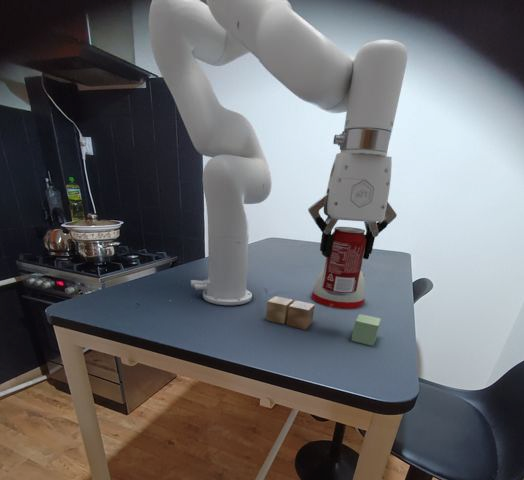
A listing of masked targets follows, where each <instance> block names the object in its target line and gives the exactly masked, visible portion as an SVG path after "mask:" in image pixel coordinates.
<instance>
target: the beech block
mask: <svg viewBox="0 0 524 480" xmlns="http://www.w3.org/2000/svg"><path fill="white" fill-rule="evenodd" d="M315 306H316V304H315V303H311V302H306V301H300V300H298V299H297V300H294V301H293V303H292V304H291V305H290V306H289V310H288V319H287V322H286V326H288V327H289V326H290V327H293V328H298V329H301V330H308V328H309V327H310V326H311V325H312V324H313V319H314V313H315Z"/></svg>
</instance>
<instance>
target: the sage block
mask: <svg viewBox="0 0 524 480" xmlns="http://www.w3.org/2000/svg"><path fill="white" fill-rule="evenodd" d="M381 321H382V318H381V317H376V316H371V315H366V314H362V313H359V314H358V316H357V317H356V319H355V321H354V326H353V330H352V335H351V339H350V341H352V342H355V343H359V344H363V345H367V346H371V347H374V345H375V343H376V341H377V337H378V333H379V329H380V325H381Z"/></svg>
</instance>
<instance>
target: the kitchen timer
mask: <svg viewBox="0 0 524 480" xmlns="http://www.w3.org/2000/svg"><path fill="white" fill-rule="evenodd" d="M324 269H325V266H324V267H323V268H322V269H321V271H320V273H319V274H318V277H317V278H316V280H315V282H314V285H313V288H312V295H311V297H312V300H314V302H316V303H318V304H321V305H323V306H326V307H330V308H336V309H349V310H351V309H357V308H360V307H362V306H363V305H364V303H365V296H366V285H365V284H366V283H365V276H366V274H365V273H364V272H363V270H362V269H361V270H360V275H359V280H358V284H357V289H356V292H355V293H353V294H351V295H349V296H336V295H332V294H329V293H327V292H326V291H325V290H324V289H322V281H323V275H324Z"/></svg>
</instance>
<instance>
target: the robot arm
mask: <svg viewBox="0 0 524 480" xmlns="http://www.w3.org/2000/svg"><path fill="white" fill-rule="evenodd" d="M149 6H150V7H149V12H148V33H149V42H150V47H151V51H152V55H153V58H154V61H155V63H156V66H157V68H158V71H159V73H160V75H161V77H162V78H163V81H164V83H165V84H166V86H167V88H168V90H169V91H170V94H171V96H172V98H173V100H174V102H175V105H176V108H177V110H178V112H179V115H180V118H181V120H182V122H183V124H184V127H185V129H186V132H187V134H188V136H189V139H190V141H191V143H192V145H193V147H194V149H195V150H196V151H197V152H198V154H200V155H202V156H203V157H208V158H210V159H209V160H207V162H206V164H205V166H204V168H203V170H202V187H203V193H204V198H205V203H206V212H207V213H206V215H207V238H208V239H207V243H208V244H207V245H208V246H207V248H208V249H207V252H208V255H207V257H208V276H207V279H203V280H198V279H191V280H190V287H191V288H192V289H193V288H194V290H195V291H202V299H204V300H205V302H208V303H211V304H214V305H218V306H239V305H244V304H248V303H250V302H251V301H252V299H253V294H252V292H251V291H249V290H248V289H247V283H248V279H247V278H248V257H249V237H250V236H249V235H250V224H249V217H248V214H247V211H246V206H245V205H254V204H255V205H256V204H261V203H263V202H265V201H266V200H267V199H268V198H269V196H270V194H271V192H272V187H273V176H272V172H271V168H270V166H269V163H268V161H267V158H266V155H265V153H264V151H263V147H262V146H261V143H260V140H259V138H258V135H257V133H256V130H255V129H254V126H253V125H252V124H251V122H250V121H249V119H247V117H246V116H244V115H243V114H241V113H239V112H236V111H233V110H231V109H229V108H228V109H227V108H226V107H224V106H223V105H222V104H221V103H220V101H219V99H218V98H217V95H216V93H215V91H214V88H213V86H212V83H211V81H210V78H209V77H208V75H207V74H206V72H205V70H204V68H203V67H202V66H201V65H200V63H199V62H198V61H197V60H199V61H201V62H203V63H205V64H207V65H210V66H212V67H213V66H214V67H223V66H226V65H227V64H229V63H231V62H234V61H235V60H237V59H240V58H242V57H244V56H245V55H248V54H249V53H250V54H252V55H253V56H254V57H255V58H256V59H257V60H258V61H259V63H260V64H261V65H262V66H263V67H264V68H265V70H266V71H267V72H268V73H269V74H271V76H272V77H273V78H275V79H276V80H277V81H278V82H280V84H282V85H283V86H284V88H286V89H287V90H288V91H289V92H291V93H292V94H293V95H295V97H297V98H299V99H300V100H302V101H303V102H305V103H308V104H310V105H312V106H314V107H316V108H318V109H320V110H322V111H325V112H327V113H329V114H342V113H343V114H344V113H345V119H344V120H345V121H344V126H343V131H342V132H341V133H339V134H335V135H334V136H333V142H332V143H333V145H337V146H338V147H339V151H340V152H338V153H336V155H335V157H334V160H333V163H332V167H331V170H330V174H329V179H328V182H327V186H326V190H325V191H326V192H325V194H324V195H323V196H321V198H319V199H318V200H317V201H316V202H314V203H313V204H312V205H310V206H309V207H308V209H307V212H308V213H309V215H310V216H311V218H312V220H313V221H314V223H315V225H316V226H317V227H318V228H319V230H320V232H321V239H320V245H319V246H320V247H319V251H320V252H321V255H322V256H323V257H324V258H326V257H329V256H330V251H331V245H332V238H333V235H332V230H334V228H335V227H336V225H337V222H339V221H352V222H363V224H364V227H365V233H364V235H365V238H366V241H367V242H366V247H365V251H364V256H363V260H369V257H370V255H371V254H372V253H373V248H374V243H375V239H376V237H379V234H380V233H381V232H382V231H384V230H385V229H386V228H387V227H388V225H390V224H391V223H392V222H393V221H394V220H395V219H396V218H397V215H398V214H397V213H396V211H395V210H394V208H393V207H392V206H391V204H390V203H389V201H388V200H389V195H390V189H391V181H392V168H393V167H392V166H393V165H392V164H393V161H392V160H393V158H392V156H388V152H389V147H390V143H391V139H392V134H393V133H392V132H393V129H394V124H395V119H396V115H397V110H398V105H399V100H400V96H401V91H402V86H403V82H404V77H405V73H406V68H407V62H408V49H407V47H406V46H405V44H404V43H402V42H400V41H397V40H394V39H376V40H371V41H369V42H367V43H365V44H363V45H362V46H361V47H359V49H358V51H357V53H356V55H355V56H353V55H351V54H349V53H347V52H345V51H344V50H343V49H341V47H339V46H338V45H337V44H336V43H335V42H333V41H332V40H331V39H329V38H328V37H327V36H326V35H324V34H323V33H321V32H320V31H319V30H318V29H317V28H315V27H314V26H313V25H311V24H310V23H309V22H308V21H306V20H305V19H304V18H303V17H302V16H300V15H299V14H298V13H297V12H295V10H293V6H292V5H291V3H290V2H289V1H288V0H206V3H205V2H203V1H202V0H151V3H150V5H149ZM322 209H323V214H324V215H325V216H326V218H325V220H324V218H323V217H322V215H321V213H320V211H321V210H322Z"/></svg>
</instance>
